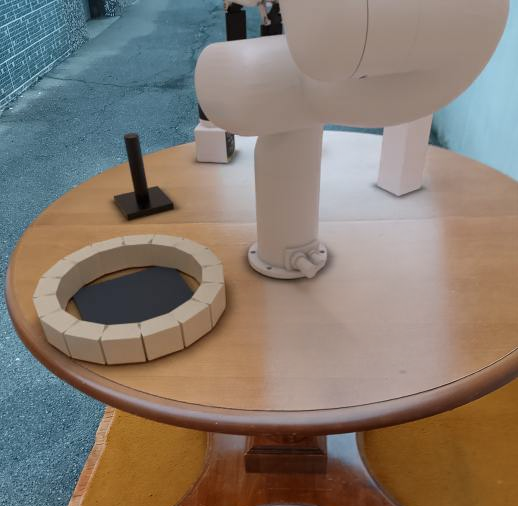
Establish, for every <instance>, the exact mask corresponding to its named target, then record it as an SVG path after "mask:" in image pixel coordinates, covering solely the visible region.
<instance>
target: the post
mask: <svg viewBox="0 0 518 506" xmlns="http://www.w3.org/2000/svg"><path fill="white" fill-rule="evenodd" d="M123 140H124V146H125V151H126V156H127V161H128V166H129V171H130V176H131V182H132V187H133V191H129V192H124V193H121V194H116V195H113V201H114V203H115V204H116V206H117V207H118V208H119V210H120V211H121V213H122V214H123V216H124V217H125V218H126V219H127V221H130V220H135V219H139V218H143V217H146V216H151V215H154V214H159V213H162V212H166V211H171V210H175V206H174V205H175V204H174V201H172V200H171V199H170V197H168V195H167V194H166V193H165V192H164V191H163V190H162V189H161V187H159V186H158V185H155V186H151V187H149V186H148V182H147V181H148V180H147V176H146V175H147V174H146V170H145V163H144V157H143V152H142V147H141V142H140V137H139V133H136V132H129V133H126V134H124V135H123Z"/></svg>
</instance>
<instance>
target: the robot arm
mask: <svg viewBox="0 0 518 506" xmlns="http://www.w3.org/2000/svg"><path fill="white" fill-rule="evenodd" d="M222 1H223V3H222V9H223V12H224V17H225V34H226V35H225V37H226V41H219V42H213V43H209V44H208V45H206V46H205V47H204V48H203V49H202V51H201V52H200V54H199V55H198V58H197V60H196V64H195V69H194V90H195V96H196V98H197V102H198V104H199V105H200V107H201V109H202V111H203V112H204V114H205V116H206V117H207V118H208V119H209V121H210V122H211V123H212V124H214V125H215V126H216V127H218V128H220V129H222V130H225V131H227V132H230V133H232V134H234V136H238V137H244V138H245V137H246V138H250V137H257V138H256V141H255V145H254V150H253V169H254V171H253V172H254V195H255V219H256V221H255V222H256V241H255V242H254V243H253V244H252V245H251V246H250V247H249V249H248V252H247V258H248V263H249V265H250V266H251V268H252V269H254V271H256V272H258V273H259V274H261V275H263V276H267V277H269V278H270V277H271V278H274V279H282V280H283V279H284V280H286V279H287V280H289V279H300V278H304V277H306V278H308V279H311V278H314V277H315V276H316V275H317V273H318V272H319V271H320V270H321V269H323V268H324V267H325V266H326V264H327V261H328V251H327V247H326V246H325V244H323V243H322V241H320V240H319V221H320V198H321V172H322V158H323V157H322V155H323V139H324V138H323V137H324V136H323V135H324V127H325V125H335V126H342V127H350V128H351V127H352V128H360V129H361V128H362V129H381V128H382V129H383V128H384V127H391V126H397V125H402V124H406V123H409V122H412V121H415V120H418V119H421V118H423V117H426V116H428V115H430V114H432V113H433V114H435V113H437V112H438V111H440V110H442V109H444V108H445V107H447V106H448V105H450V104H451V103H453V102H454V101H455V100H457V99H458V98H459V97H460V96H461V95H463V94H464V93H465V92H466V91H467V90H468V89H469V88H470V87H471V86H472V85H473V84H474V83H475V82H476V80H477V79H478V77H479V76H480V75H481V74H482V73H483V71H484V70H485V69H486V67H487V66H488V64H489V62H490V61H491V59H492V57H493V56H494V54H495V52H496V50H497V48H498V46H499V44H500V41H501V40H502V38H503V36H504V32H505V30H506V26H507V23H508V19H509V15H510V3H511V0H222ZM256 6H257V8H258V9H257V10H258V12H259V14H260V17H261V20H262V22H263V24H260V36H259V37H255V38H248V36H247V35H248V34H247V33H248V32H247V30H248V29H247V10H246V9H244V7H248V8H254V7H256ZM269 7H271V8H270V10H269V9H268V8H269ZM283 31H284V34H283Z"/></svg>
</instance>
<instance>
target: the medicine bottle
mask: <svg viewBox="0 0 518 506" xmlns="http://www.w3.org/2000/svg"><path fill="white" fill-rule="evenodd" d="M197 110H198V119H199V123H198V124H197V126H195V128H194V129H193V135H194V144H195V153H196V160H197V162H199V163H216V164H217V163H219V164H228V163H229V162H230V160H231V159H232V157H233V156H234V154H235V152H236V140H235V134H232V133H230V132H227V131H225V130H222V129H220V128H218V127H216V126H215V125H214V124H212V123H211V122H210V121H209V119H208V118H207V117H206V116H205V114H204V112H203V111H202V109H201V107H200V105H199V103H198V104H197Z"/></svg>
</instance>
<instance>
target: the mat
mask: <svg viewBox="0 0 518 506" xmlns="http://www.w3.org/2000/svg"><path fill="white" fill-rule="evenodd" d="M194 294H195V292H194V291H193V289H192V288H190V286H189V285H188V283H187V282H186V280H185V279H184V278H183V277H182V276H181V274H180V272H178V269H175V268H168V267H161V266H152V267H148V268H146V269H141V270H140V271H136V272H133V273H128V274H124V275H122V276H118V277H115V278H111V279H108V280H105V281H101V282H97V283H94V284H90V285H86V286H82V287H81V288H80V289H79V290H78V291H77V292H76V293H75V294H74V295H73V296H72V299H73V301H74V303H75V306H76V308H77V311H78V312H79V314H80V316H81V319H82V321H86V322H92V323H97V324H103V325H117V324H130V323H140V322H143V321H146V320H149V319H152V318H156V317H159V316H162V315H165V314H168V313H170V312H171V311H173V310H174V309H176V308H178V307H179V306H181V305H182V304H184V303H185V302H187V301H188V300H190V299H191V298H192V297H193V295H194Z"/></svg>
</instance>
